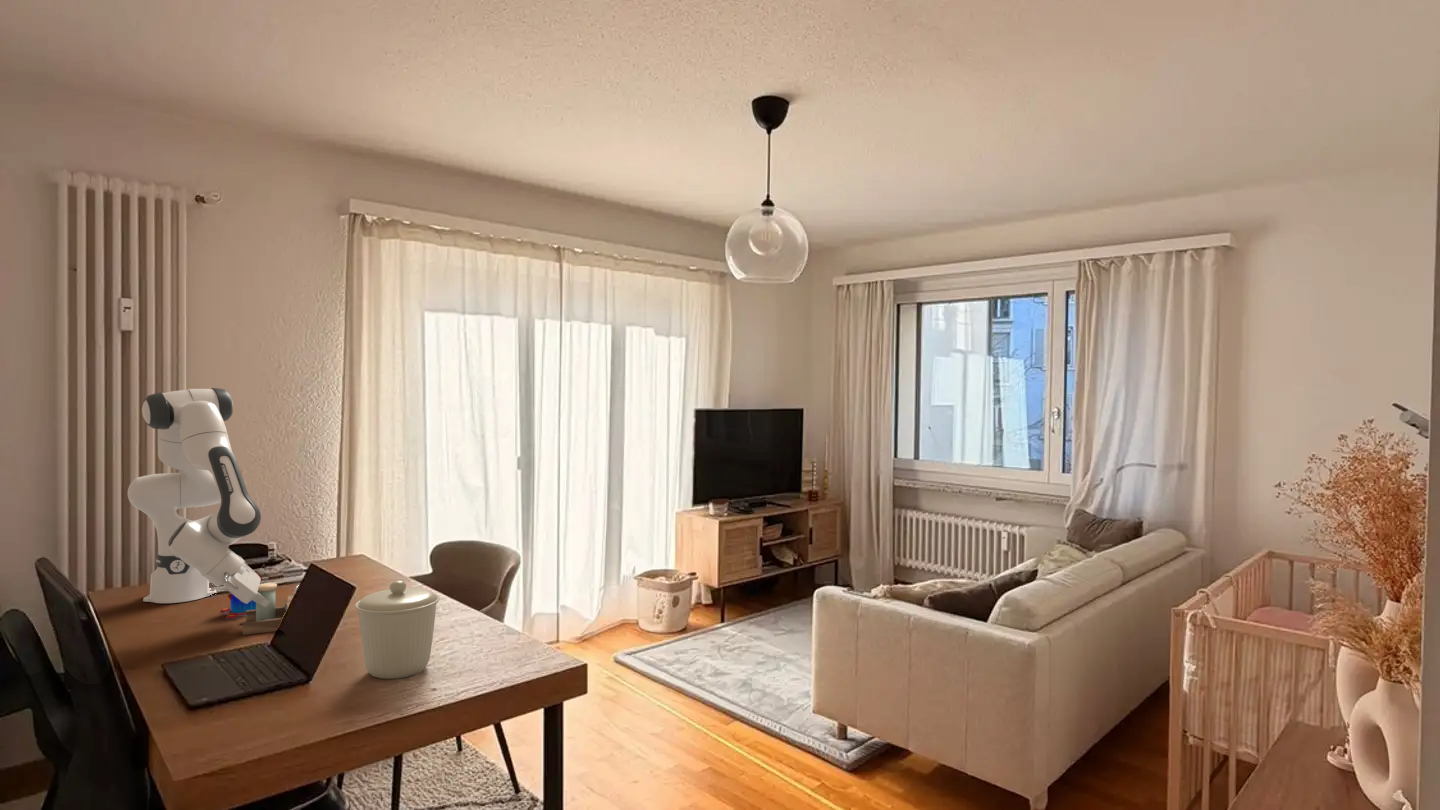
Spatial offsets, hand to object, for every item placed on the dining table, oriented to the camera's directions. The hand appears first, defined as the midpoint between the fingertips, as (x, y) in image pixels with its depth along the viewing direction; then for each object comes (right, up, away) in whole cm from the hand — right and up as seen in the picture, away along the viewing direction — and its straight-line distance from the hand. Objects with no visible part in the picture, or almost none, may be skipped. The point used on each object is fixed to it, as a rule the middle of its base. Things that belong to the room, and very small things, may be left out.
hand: (268, 601), depth 215 cm
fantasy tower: (-14, -6, +13) cm, 20 cm away
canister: (+50, -8, -35) cm, 61 cm away
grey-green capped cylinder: (-1, -5, 0) cm, 5 cm away
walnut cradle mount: (0, -6, 0) cm, 6 cm away
